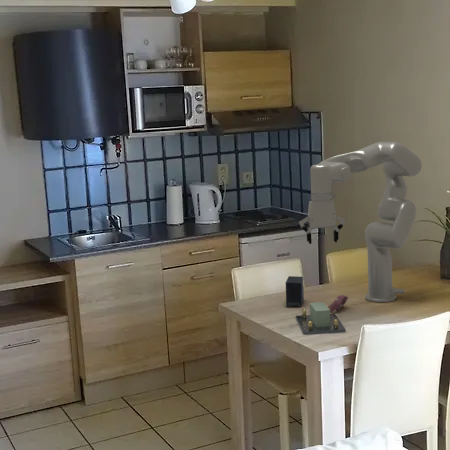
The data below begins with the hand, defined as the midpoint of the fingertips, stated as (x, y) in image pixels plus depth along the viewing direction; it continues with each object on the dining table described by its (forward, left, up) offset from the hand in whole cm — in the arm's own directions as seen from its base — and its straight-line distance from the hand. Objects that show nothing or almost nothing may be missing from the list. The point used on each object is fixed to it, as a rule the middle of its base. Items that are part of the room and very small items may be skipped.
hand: (322, 242), depth 269 cm
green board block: (+4, +12, -27) cm, 30 cm away
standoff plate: (+4, +12, -28) cm, 31 cm away
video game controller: (-6, -6, -29) cm, 30 cm away
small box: (+9, -18, -29) cm, 35 cm away
